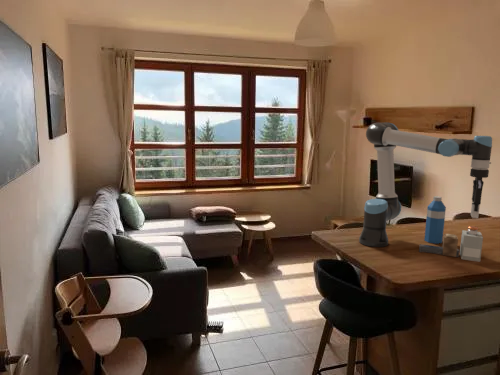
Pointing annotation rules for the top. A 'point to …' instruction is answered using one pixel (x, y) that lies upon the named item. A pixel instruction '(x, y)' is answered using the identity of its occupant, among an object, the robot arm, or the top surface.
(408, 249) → the top surface
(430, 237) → the water bottle
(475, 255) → the white box
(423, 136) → the robot arm
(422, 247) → the rail
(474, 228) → the plunger
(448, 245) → the block
